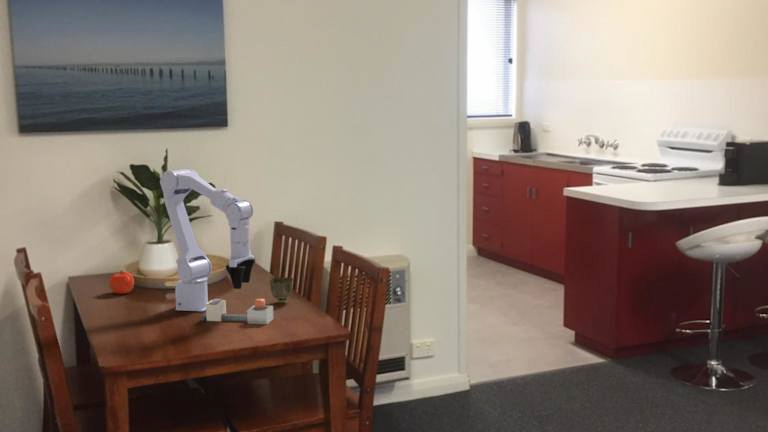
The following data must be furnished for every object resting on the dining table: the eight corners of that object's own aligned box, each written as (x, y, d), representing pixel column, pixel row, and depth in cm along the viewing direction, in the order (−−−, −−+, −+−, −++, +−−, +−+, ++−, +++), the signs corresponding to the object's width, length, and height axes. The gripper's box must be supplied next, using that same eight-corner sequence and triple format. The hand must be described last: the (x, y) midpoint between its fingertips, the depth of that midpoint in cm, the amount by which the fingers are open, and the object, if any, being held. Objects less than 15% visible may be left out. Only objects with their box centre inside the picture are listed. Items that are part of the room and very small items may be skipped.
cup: (289, 306, 255) (288, 281, 253) (267, 305, 256) (266, 281, 255) (296, 300, 262) (295, 276, 261) (274, 299, 263) (274, 275, 262)
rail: (201, 320, 239) (200, 315, 239) (206, 316, 244) (206, 311, 244) (247, 322, 237) (247, 317, 237) (252, 318, 241) (252, 313, 241)
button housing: (247, 323, 236) (246, 310, 236) (253, 317, 242) (253, 305, 241) (267, 324, 235) (266, 311, 235) (273, 318, 241) (273, 305, 240)
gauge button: (253, 308, 237) (253, 300, 236) (256, 305, 240) (256, 298, 239) (263, 308, 236) (263, 301, 236) (266, 305, 239) (266, 298, 239)
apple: (139, 292, 275) (138, 269, 274) (120, 297, 268) (119, 273, 267) (124, 289, 279) (122, 266, 278) (105, 294, 272) (103, 271, 271)
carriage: (206, 320, 239) (205, 302, 238) (212, 316, 244) (211, 298, 243) (220, 321, 238) (219, 303, 237) (226, 317, 243) (225, 299, 242)
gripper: (245, 246, 233) (246, 291, 235) (260, 237, 247) (261, 280, 249) (221, 245, 234) (223, 290, 236) (238, 236, 248) (239, 279, 250)
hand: (241, 285), depth 243 cm, fingers open, 7 cm apart
